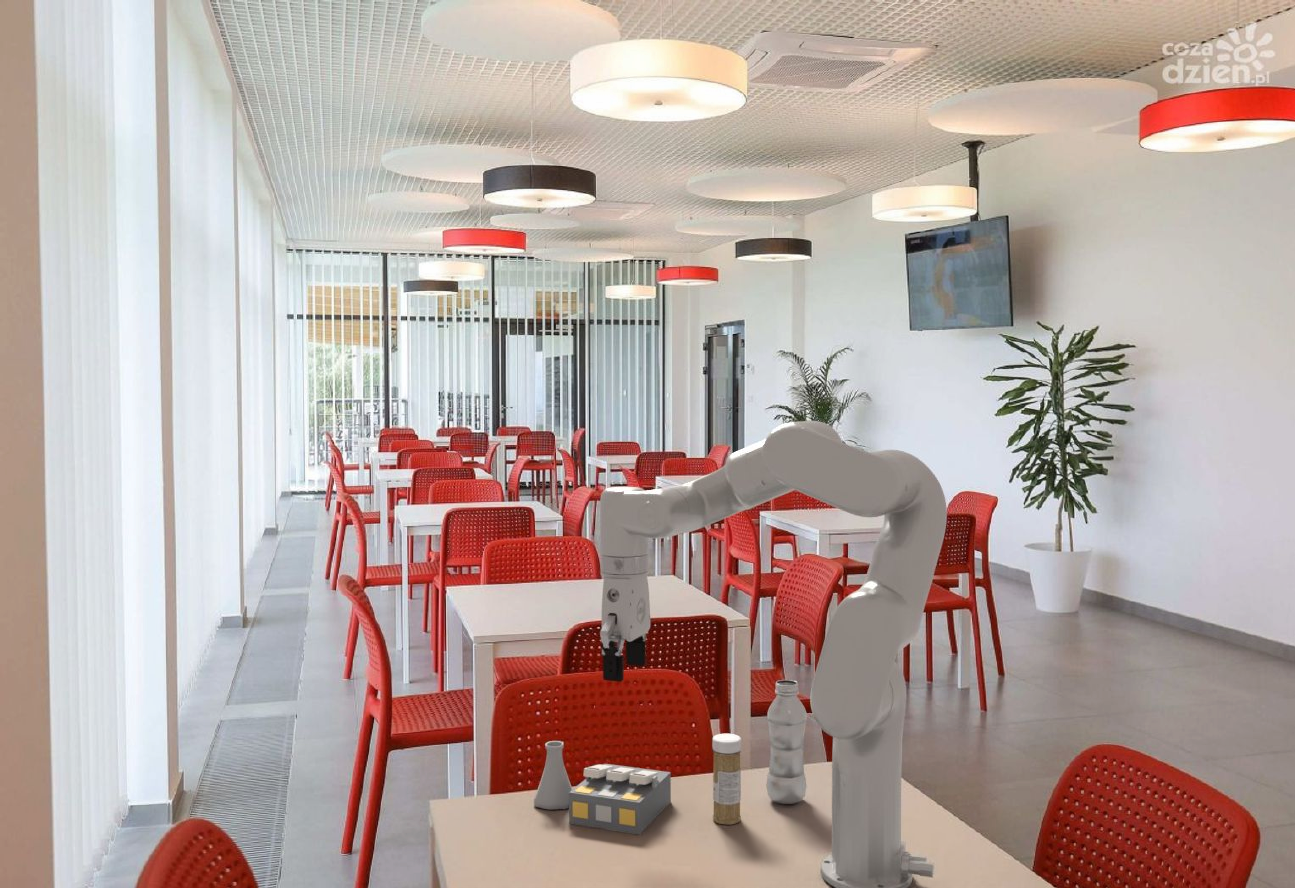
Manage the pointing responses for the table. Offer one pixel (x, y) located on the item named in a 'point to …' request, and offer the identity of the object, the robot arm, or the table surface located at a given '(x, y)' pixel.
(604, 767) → the switch
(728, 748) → the sprinkles bottle
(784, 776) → the plastic bottle
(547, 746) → the flask
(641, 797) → the console
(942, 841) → the table surface
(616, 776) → the switch
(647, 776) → the switch
